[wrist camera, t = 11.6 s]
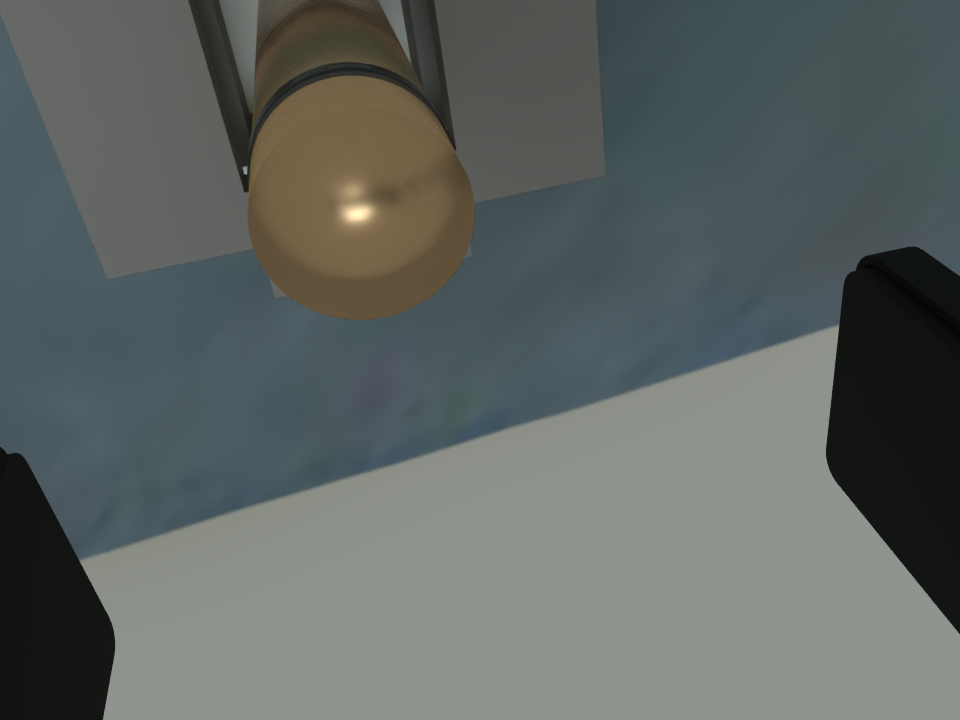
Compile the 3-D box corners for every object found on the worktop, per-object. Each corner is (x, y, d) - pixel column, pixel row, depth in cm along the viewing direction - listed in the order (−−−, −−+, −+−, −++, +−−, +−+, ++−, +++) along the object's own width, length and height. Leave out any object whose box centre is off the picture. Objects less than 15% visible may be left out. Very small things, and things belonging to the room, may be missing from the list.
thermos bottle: (365, -64, 30) (460, 85, 15) (388, 60, 32) (490, 296, 17) (242, -43, 30) (214, 131, 15) (273, 82, 32) (278, 342, 17)
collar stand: (541, -274, 29) (626, -292, 22) (572, 146, 37) (643, 225, 30) (-41, -185, 27) (-136, -176, 20) (121, 237, 35) (90, 343, 28)
